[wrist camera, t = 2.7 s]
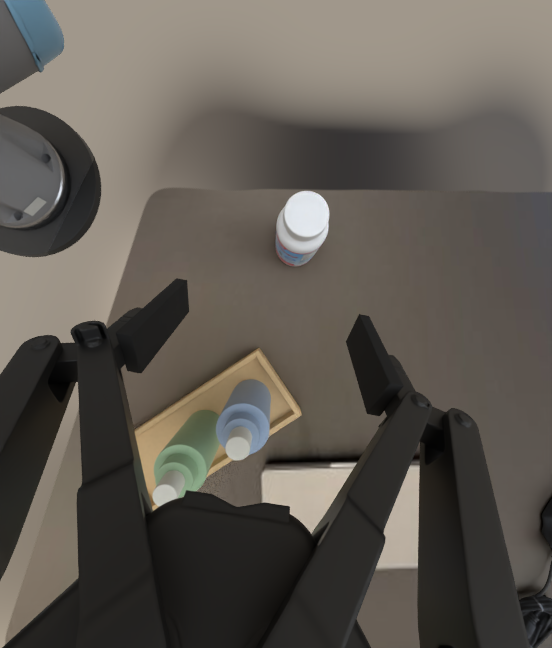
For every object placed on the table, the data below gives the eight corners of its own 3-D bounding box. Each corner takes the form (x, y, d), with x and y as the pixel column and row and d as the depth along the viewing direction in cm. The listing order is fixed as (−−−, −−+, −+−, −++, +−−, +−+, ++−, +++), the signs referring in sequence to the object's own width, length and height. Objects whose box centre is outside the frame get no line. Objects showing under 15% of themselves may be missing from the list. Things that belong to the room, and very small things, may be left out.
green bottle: (178, 436, 34) (122, 508, 21) (196, 402, 33) (150, 455, 21) (213, 454, 34) (177, 536, 21) (231, 420, 34) (206, 484, 21)
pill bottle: (267, 241, 33) (264, 204, 22) (301, 219, 33) (315, 170, 22) (289, 275, 33) (297, 255, 22) (323, 253, 33) (348, 222, 22)
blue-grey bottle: (224, 406, 33) (195, 461, 21) (243, 372, 33) (224, 407, 21) (259, 424, 34) (250, 489, 21) (277, 390, 33) (279, 436, 21)
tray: (155, 502, 35) (147, 515, 33) (113, 443, 34) (101, 453, 32) (300, 408, 34) (302, 414, 32) (259, 347, 34) (258, 349, 32)
